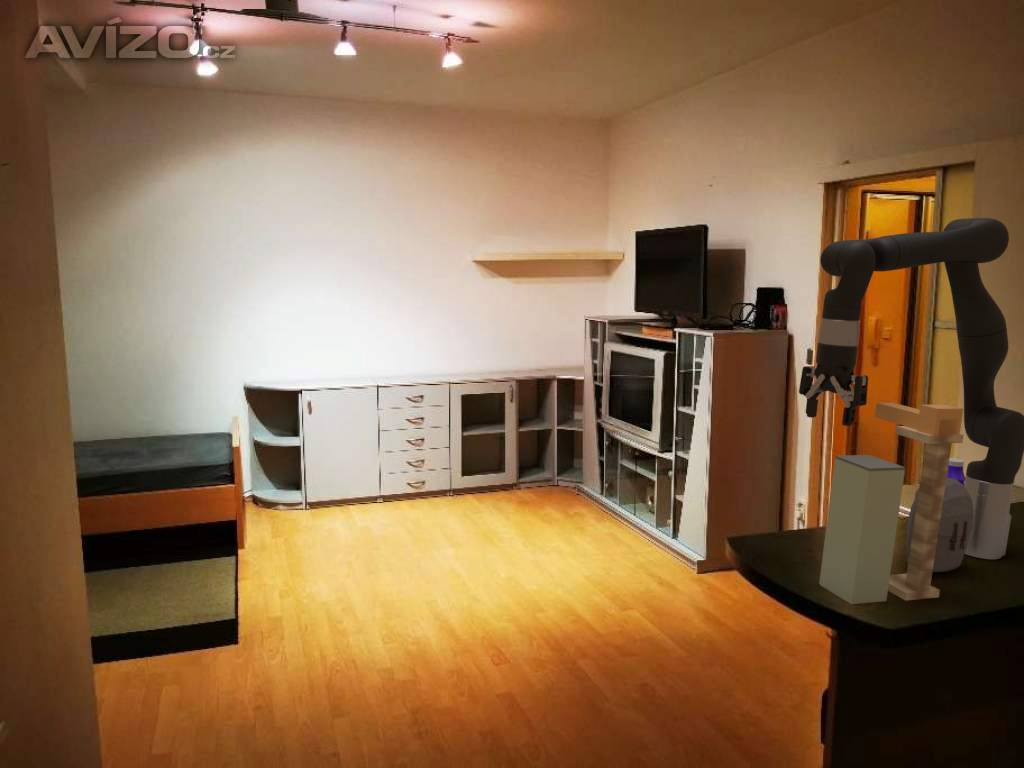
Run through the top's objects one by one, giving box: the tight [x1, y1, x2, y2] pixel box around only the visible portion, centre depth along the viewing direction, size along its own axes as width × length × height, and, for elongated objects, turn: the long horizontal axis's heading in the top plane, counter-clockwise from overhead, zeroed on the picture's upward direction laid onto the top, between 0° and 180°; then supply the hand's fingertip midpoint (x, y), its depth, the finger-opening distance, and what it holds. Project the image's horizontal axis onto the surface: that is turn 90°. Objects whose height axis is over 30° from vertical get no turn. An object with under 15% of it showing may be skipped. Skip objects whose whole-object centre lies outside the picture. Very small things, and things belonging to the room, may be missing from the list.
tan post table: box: [888, 425, 965, 602], centre depth 152 cm, size 8×8×32 cm
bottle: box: [947, 457, 966, 485], centre depth 193 cm, size 7×6×17 cm
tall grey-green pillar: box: [818, 454, 906, 605], centre depth 150 cm, size 8×9×26 cm
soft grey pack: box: [905, 477, 973, 573], centre depth 164 cm, size 15×8×20 cm, turn 117°
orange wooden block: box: [874, 402, 964, 436], centre depth 152 cm, size 6×16×5 cm, turn 17°
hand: (828, 421), depth 161 cm, fingers open, 8 cm apart
